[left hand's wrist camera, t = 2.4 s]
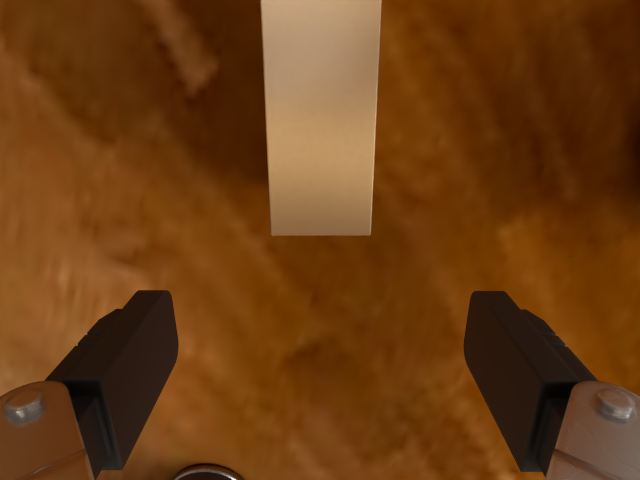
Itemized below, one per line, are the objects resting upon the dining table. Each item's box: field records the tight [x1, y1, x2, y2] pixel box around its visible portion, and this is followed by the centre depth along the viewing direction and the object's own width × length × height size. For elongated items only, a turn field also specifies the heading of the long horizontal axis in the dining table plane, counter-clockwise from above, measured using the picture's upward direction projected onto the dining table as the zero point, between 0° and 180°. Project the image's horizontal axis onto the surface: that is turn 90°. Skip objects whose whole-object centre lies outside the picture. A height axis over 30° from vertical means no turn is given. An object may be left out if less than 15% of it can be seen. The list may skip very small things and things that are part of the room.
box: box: [260, 0, 382, 235], centre depth 27 cm, size 20×6×11 cm, turn 0°
